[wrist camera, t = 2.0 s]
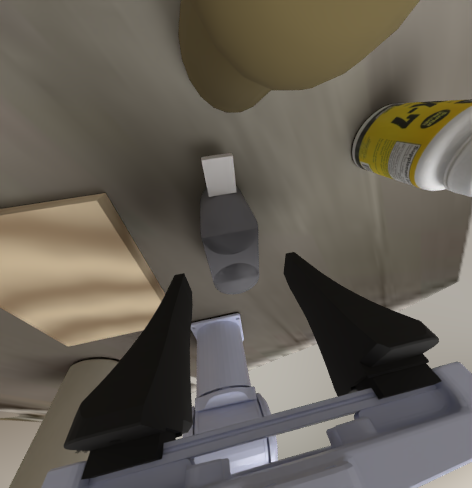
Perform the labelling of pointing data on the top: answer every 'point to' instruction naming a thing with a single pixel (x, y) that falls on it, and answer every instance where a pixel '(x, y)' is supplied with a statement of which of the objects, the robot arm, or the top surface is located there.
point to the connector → (228, 228)
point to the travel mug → (61, 424)
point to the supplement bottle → (419, 144)
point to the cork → (278, 43)
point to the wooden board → (74, 270)
